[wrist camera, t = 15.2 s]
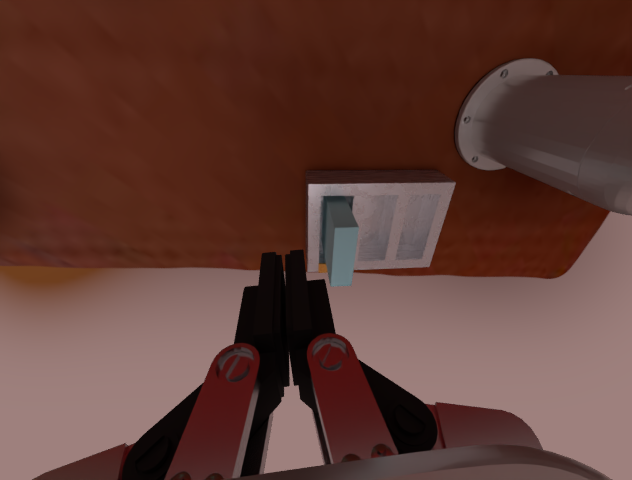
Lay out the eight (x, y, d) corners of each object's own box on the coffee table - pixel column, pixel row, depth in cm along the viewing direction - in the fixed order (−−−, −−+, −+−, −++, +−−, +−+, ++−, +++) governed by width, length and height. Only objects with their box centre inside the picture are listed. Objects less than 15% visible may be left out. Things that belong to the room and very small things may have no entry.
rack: (436, 169, 36) (457, 183, 32) (415, 248, 43) (429, 269, 39) (305, 170, 35) (308, 185, 30) (305, 252, 42) (308, 274, 37)
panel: (342, 190, 36) (359, 227, 27) (337, 240, 40) (351, 285, 32) (323, 190, 35) (335, 227, 27) (321, 241, 40) (330, 286, 31)
